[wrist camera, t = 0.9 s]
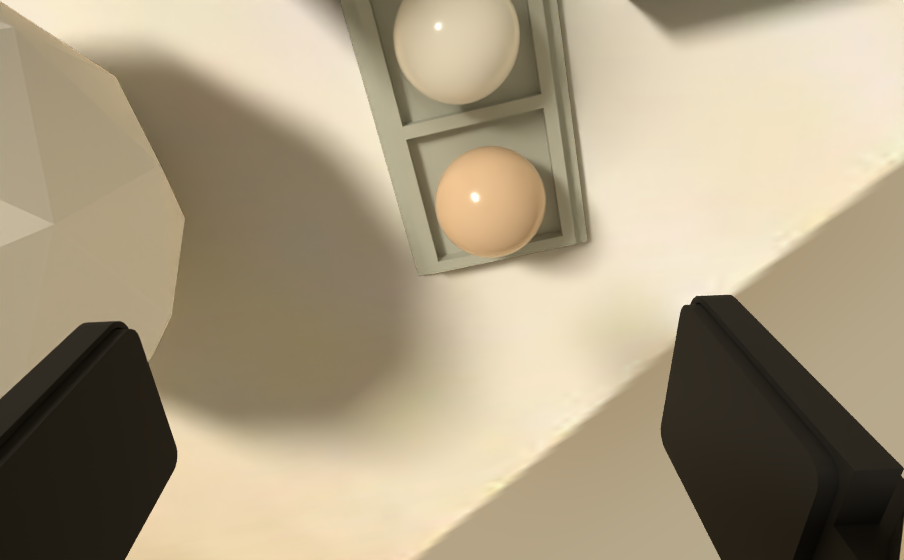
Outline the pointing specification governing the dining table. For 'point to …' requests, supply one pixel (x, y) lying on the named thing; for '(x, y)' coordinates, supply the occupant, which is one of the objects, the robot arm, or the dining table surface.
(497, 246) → the brown egg
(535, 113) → the carton
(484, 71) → the white egg
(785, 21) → the dining table surface
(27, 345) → the polyhedron
